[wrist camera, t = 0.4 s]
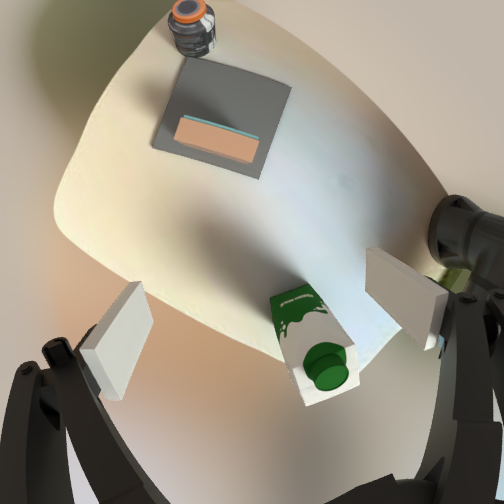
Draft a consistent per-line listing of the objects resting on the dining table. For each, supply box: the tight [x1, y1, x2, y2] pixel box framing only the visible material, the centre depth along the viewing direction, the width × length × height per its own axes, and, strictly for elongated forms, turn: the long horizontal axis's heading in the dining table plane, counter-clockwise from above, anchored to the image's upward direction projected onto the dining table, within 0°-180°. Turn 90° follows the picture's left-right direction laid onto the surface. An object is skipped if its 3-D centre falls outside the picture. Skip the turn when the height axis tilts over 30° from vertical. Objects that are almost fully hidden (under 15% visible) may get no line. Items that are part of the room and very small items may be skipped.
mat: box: [153, 57, 292, 180], centre depth 35 cm, size 16×15×1 cm
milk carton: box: [270, 284, 360, 406], centre depth 36 cm, size 9×9×20 cm
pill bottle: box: [168, 0, 216, 58], centre depth 26 cm, size 6×6×11 cm
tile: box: [174, 115, 259, 164], centre depth 32 cm, size 9×3×9 cm, turn 71°
